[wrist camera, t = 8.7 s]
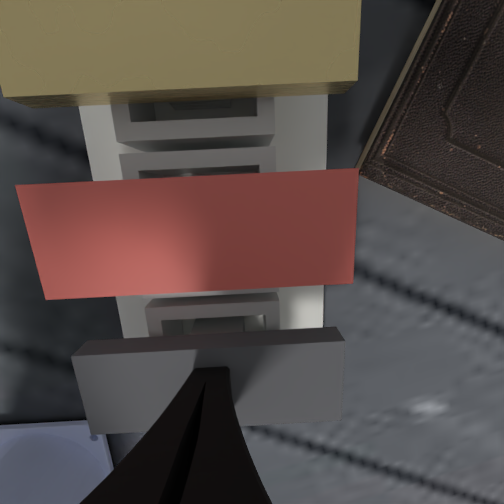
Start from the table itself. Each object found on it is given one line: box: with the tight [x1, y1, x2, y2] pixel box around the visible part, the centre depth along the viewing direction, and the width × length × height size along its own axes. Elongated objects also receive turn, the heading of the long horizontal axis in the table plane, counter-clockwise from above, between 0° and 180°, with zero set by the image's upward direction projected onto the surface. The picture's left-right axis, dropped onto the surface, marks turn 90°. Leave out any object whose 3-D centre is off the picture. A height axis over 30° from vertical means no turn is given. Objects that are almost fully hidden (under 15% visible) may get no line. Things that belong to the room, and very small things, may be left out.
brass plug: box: [0, 0, 361, 110], centre depth 9 cm, size 4×10×4 cm, turn 93°
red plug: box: [15, 168, 359, 300], centre depth 10 cm, size 4×10×4 cm, turn 93°
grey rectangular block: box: [71, 316, 345, 435], centre depth 12 cm, size 4×10×4 cm, turn 93°
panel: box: [79, 94, 328, 338], centre depth 11 cm, size 18×11×3 cm, turn 3°
